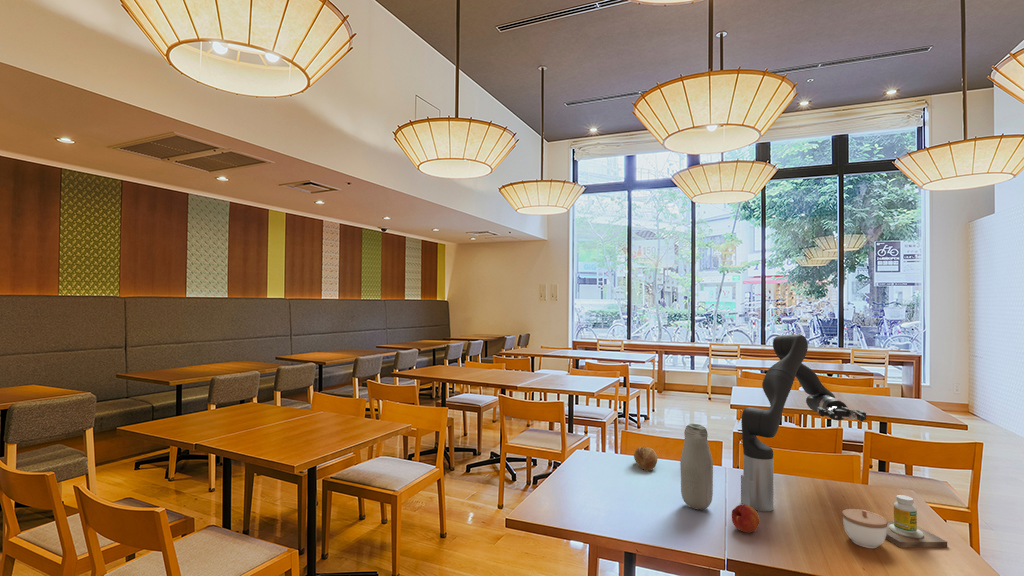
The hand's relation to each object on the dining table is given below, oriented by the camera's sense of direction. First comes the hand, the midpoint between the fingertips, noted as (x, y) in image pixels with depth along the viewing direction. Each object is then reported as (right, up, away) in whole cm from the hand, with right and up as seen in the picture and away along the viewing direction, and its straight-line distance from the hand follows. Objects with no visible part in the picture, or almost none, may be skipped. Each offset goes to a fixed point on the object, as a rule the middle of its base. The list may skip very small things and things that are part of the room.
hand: (847, 417), depth 169 cm
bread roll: (-62, -31, +35) cm, 77 cm away
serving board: (0, -29, -24) cm, 38 cm away
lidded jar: (-15, -29, -29) cm, 44 cm away
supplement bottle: (0, -27, -25) cm, 37 cm away
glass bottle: (-56, -29, -6) cm, 63 cm away
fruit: (-47, -29, -22) cm, 60 cm away
